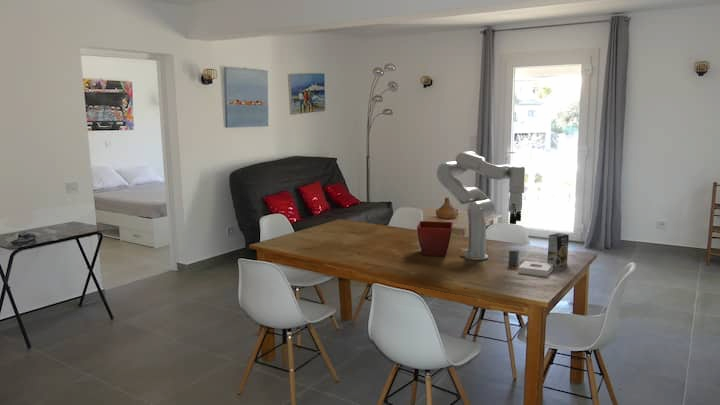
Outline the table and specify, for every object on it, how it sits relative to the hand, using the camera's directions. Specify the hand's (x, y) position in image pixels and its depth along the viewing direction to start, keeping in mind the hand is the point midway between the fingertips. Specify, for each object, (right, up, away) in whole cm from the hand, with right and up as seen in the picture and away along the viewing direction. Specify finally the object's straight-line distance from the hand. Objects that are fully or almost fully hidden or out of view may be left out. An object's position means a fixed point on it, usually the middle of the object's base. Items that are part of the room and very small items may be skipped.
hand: (515, 222), depth 290 cm
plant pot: (-38, -19, +29) cm, 52 cm away
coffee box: (+23, -23, +4) cm, 33 cm away
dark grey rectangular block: (0, -23, +3) cm, 23 cm away
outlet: (+8, -24, -9) cm, 27 cm away
